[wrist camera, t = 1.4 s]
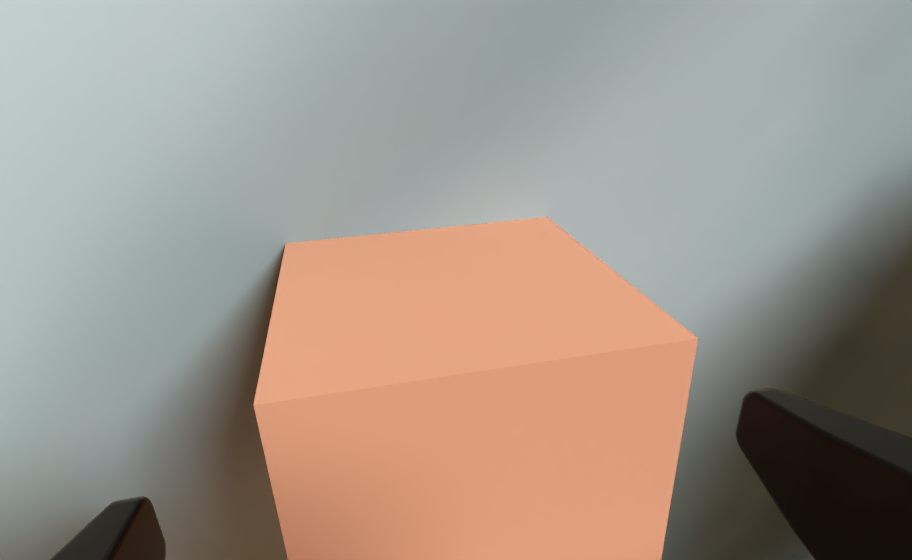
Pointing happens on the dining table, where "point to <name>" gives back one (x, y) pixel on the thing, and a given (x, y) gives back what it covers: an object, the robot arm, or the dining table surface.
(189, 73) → the dining table surface
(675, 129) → the dining table surface
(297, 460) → the terracotta cube
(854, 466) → the robot arm
